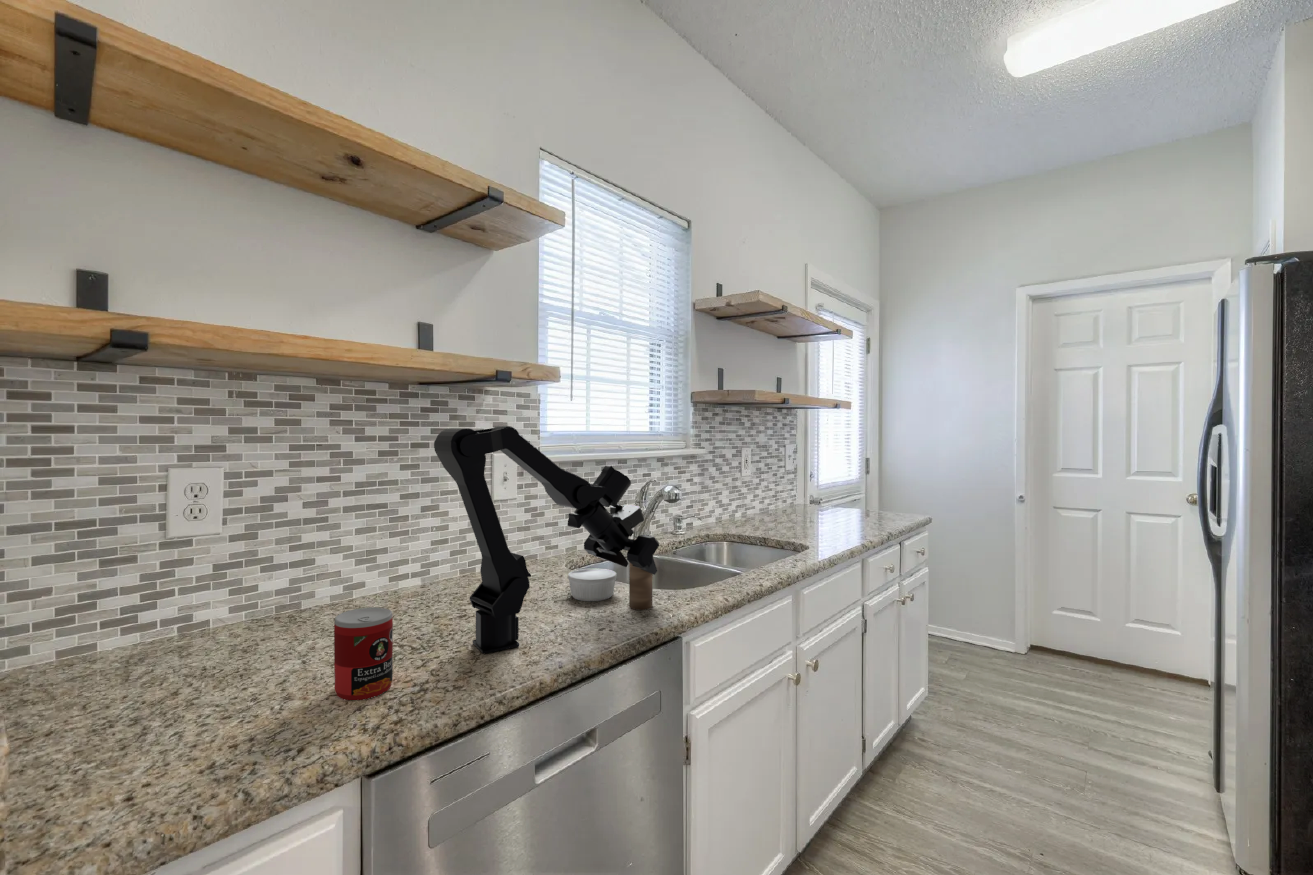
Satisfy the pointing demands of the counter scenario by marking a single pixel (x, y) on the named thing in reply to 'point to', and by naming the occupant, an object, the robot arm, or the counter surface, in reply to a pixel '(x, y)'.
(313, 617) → the counter surface
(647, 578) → the pepper mill
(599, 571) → the ramekin
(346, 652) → the canned food
